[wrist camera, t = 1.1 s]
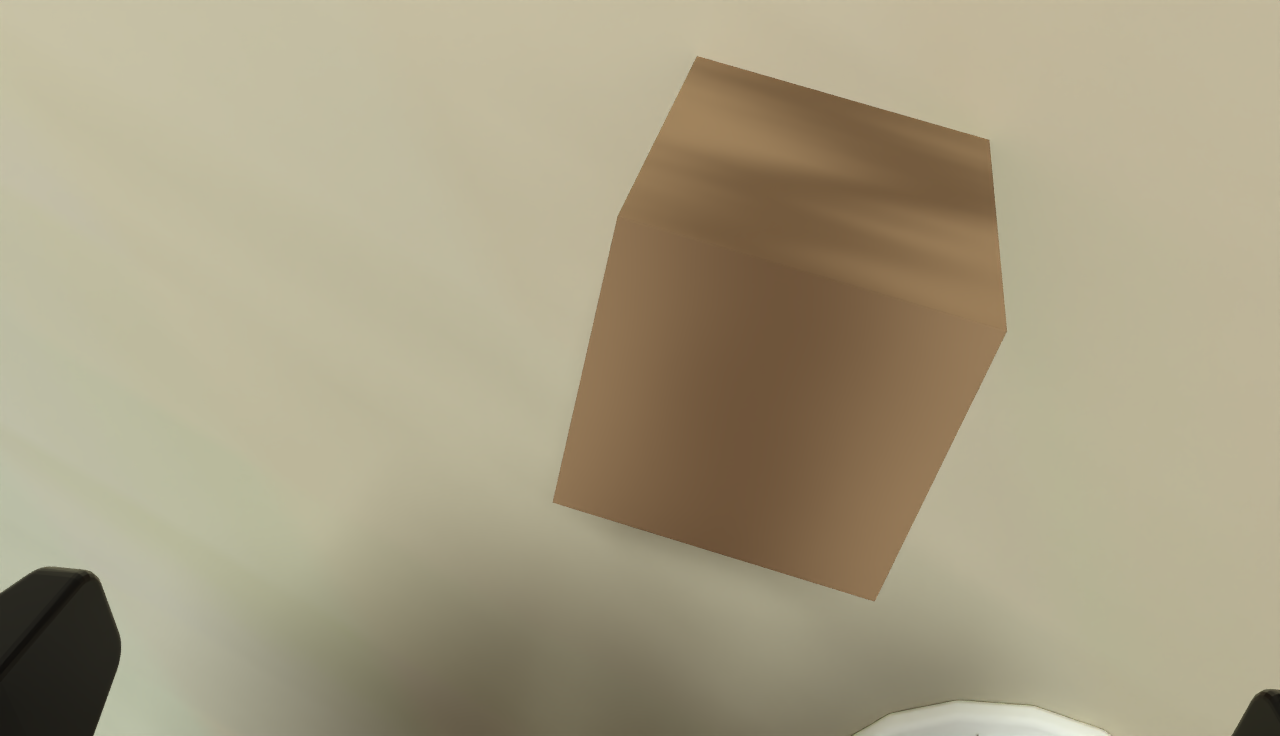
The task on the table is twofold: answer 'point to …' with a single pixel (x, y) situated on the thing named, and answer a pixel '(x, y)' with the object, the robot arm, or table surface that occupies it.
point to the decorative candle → (979, 721)
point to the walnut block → (787, 328)
